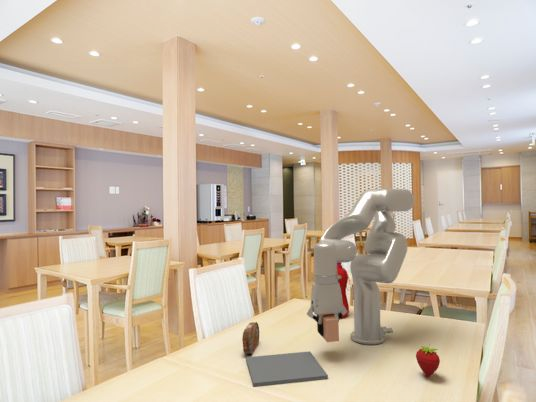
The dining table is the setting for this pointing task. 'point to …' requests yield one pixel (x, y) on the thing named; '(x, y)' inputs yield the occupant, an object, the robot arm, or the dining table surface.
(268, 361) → the mat
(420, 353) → the strawberry
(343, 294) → the water bottle
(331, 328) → the card box
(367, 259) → the robot arm
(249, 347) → the brown rounded slab
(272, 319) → the dining table surface
